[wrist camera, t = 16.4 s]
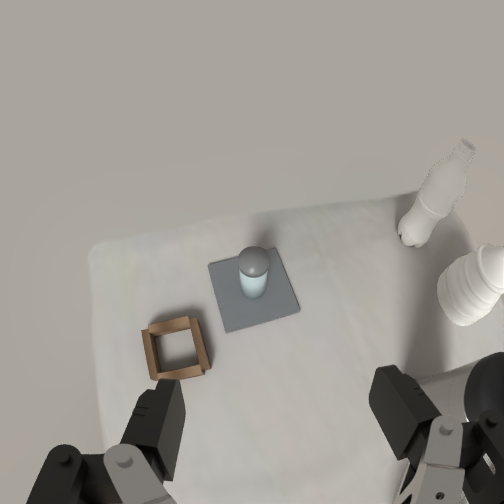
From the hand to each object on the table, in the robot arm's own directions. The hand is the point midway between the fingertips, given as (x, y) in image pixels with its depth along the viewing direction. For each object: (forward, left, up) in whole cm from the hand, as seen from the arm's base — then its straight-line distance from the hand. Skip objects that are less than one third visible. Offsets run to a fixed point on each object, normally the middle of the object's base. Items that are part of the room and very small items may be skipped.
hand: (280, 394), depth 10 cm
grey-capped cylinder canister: (-5, -18, -30) cm, 35 cm away
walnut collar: (+9, -11, -31) cm, 34 cm away
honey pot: (-44, -3, -31) cm, 54 cm away
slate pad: (-5, -18, -31) cm, 36 cm away
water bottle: (-39, -19, -31) cm, 53 cm away
